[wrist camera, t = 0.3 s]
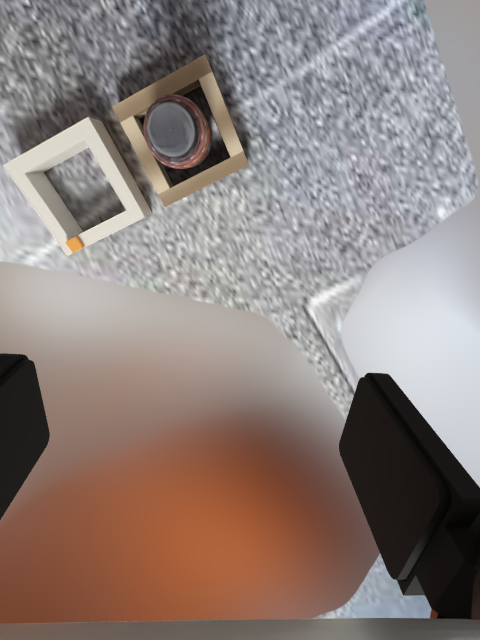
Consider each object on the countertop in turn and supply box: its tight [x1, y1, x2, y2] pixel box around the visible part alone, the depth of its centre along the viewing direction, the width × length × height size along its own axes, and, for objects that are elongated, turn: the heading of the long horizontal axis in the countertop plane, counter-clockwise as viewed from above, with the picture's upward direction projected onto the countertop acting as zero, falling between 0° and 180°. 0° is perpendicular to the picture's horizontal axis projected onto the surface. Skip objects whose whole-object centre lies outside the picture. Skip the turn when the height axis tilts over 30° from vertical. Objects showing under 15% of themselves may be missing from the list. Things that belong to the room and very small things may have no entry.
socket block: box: [3, 117, 152, 256], centre depth 36 cm, size 11×11×5 cm
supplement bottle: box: [143, 94, 212, 169], centre depth 31 cm, size 6×6×11 cm
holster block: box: [112, 54, 249, 207], centre depth 35 cm, size 11×11×3 cm
